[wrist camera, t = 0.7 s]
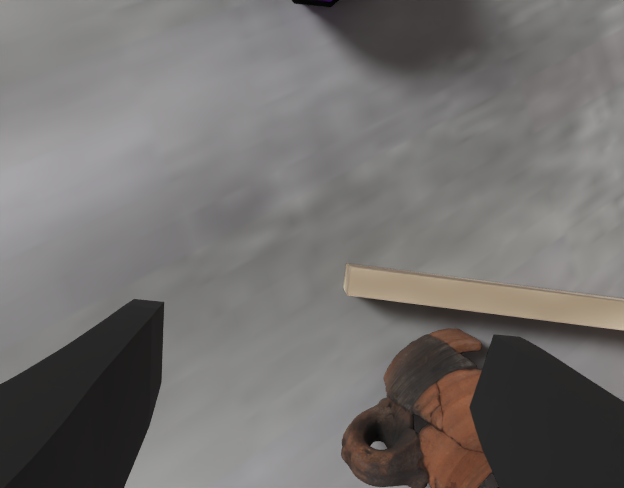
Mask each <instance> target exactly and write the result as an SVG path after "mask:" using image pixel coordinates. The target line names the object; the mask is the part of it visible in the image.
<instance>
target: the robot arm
mask: <svg viewBox="0 0 624 488" xmlns="http://www.w3.org/2000/svg"><path fill="white" fill-rule="evenodd" d="M163 319H164V302H158V301H148V300H138V299H134V300H132V301H130V302H129V303H127V304H126V305H124V306H123V307H122V308H120V309H119V310H117V311H116V312H115V313H113V314H112V315H110V316H109V317H108V318H106V319H105V320H103V321H102V322H100V323H99V324H98V325H96V326H95V327H93V328H92V329H90V330H89V331H87V332H86V333H84V334H83V335H81V336H80V337H78V338H77V339H75V340H74V341H72V342H71V343H70V344H68V345H66V346H65V347H63V348H62V349H60V350H58V351H57V352H55V353H53V354H52V355H50V356H48V357H47V358H45V359H43V360H42V361H40V362H39V363H37V364H35V365H34V366H32V367H30V368H29V369H27V370H25V371H24V372H22V373H20V374H19V375H17V376H15V377H13V378H11V379H10V380H8V381H6V382H4V383H2V384H0V488H124V486H125V484H126V481H127V479H128V477H129V474H130V472H131V469H132V467H133V465H134V462H135V460H136V457H137V455H138V452H139V450H140V448H141V445H142V443H143V440H144V438H145V435H146V433H147V430H148V428H149V425H150V422H151V418H152V415H153V411H154V408H155V404H156V400H157V397H158V393H159V389H160V386H161V378H162V349H163ZM469 408H470V412H471V415H472V419H473V422H474V426H475V429H476V432H477V435H478V438H479V441H480V444H481V447H482V450H483V452H484V455H485V457H486V459H487V461H488V464H489V466H490V468H491V470H492V472H493V474H494V477H495V479H496V481H497V483H498V485H499V487H500V488H624V402H623V401H622V400H620V399H619V398H617V397H615V396H614V395H612V394H611V393H609V392H608V391H606V390H605V389H603V388H601V387H600V386H598V385H597V384H595V383H594V382H592V381H591V380H589V379H588V378H586V377H585V376H583V375H581V374H580V373H578V372H577V371H575V370H574V369H572V368H571V367H569V366H568V365H566V364H565V363H563V362H562V361H560V360H558V359H557V358H555V357H554V356H552V355H551V354H549V353H547V352H546V351H544V350H543V349H541V348H539V347H538V346H536V345H534V344H532V343H531V342H529V341H527V340H525V339H523V338H521V337H515V336H505V335H493V338H492V341H491V344H490V347H489V350H488V353H487V356H486V359H485V362H484V365H483V368H482V371H481V374H480V377H479V380H478V383H477V386H476V389H475V392H474V395H473V398H472V401H471V404H470V407H469Z"/></svg>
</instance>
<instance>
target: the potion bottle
mask: <svg viewBox="0 0 624 488" xmlns="http://www.w3.org/2000/svg"><path fill="white" fill-rule="evenodd" d="M292 1H293V2H294V3H298V4H307V5H316V6H325V7H331V6H333V5H334V4H335V3H336V2H337V1H339V0H292Z"/></svg>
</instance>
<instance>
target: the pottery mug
mask: <svg viewBox="0 0 624 488" xmlns="http://www.w3.org/2000/svg"><path fill="white" fill-rule="evenodd" d="M481 347H482V344H481V342H480V341H479V340H477V339H476V338H474V337H472V336H470V335H468V334H466V333H464V332H463V331H461V330H459V329H445V330H439V331H436V332H433V333H430V334H427V335H424V336H423V337H421V338H419V339H417V340H415V341H413V342H411V343H410V344H409V345H408V346H407V347H406V348H404V349H403V350H401V351H400V352H399V354H398V355H396V356H395V358H394V359H393V361H392V363H391V364H390V366H389V367H388V369H387V371H386V373H385V375H384V382H385V385H386V392H387V398H384V399H382V400H381V401H380V402H379V403H378V404H377V405H376V406H374V407H372V408H370V409H368V410H366V411H364V412H362V413H361V414H359V415H358V416H357V417H356V418H355V419H354V420H353V421H352V423H351V424H350V425H349V426H348V428H347V429H346V431H345V433H344V435H343V439H342V452H341V456H342V458H343V460H344V461H345V462H346V463H347V464H348V466H349V467H350V469H351V470H352V472H353V473H354V475H355V476H356V477H357V478H358V479H360V480H361V481H363V482H364V483H367V484H369V485H372V486H377V487H388V486H401V485H408V486H409V487H411V488H425V487H426V486H427V483H429V484H430V486H431V488H478V487H479V486H480V485H481V483H482V482H483V481H484V480H485V479H486V478H487V477H488V475H489V474H490V473H492V470H491V468H490V466H489V464H488V461H487V459H486V457H485V455H484V452H483V450H482V447H481V444H480V441H479V438H478V435H477V432H476V429H475V426H474V422H473V419H472V415H471V412H470V408H469V407H470V404H471V401H472V398H473V395H474V392H475V389H476V386H477V383H478V380H479V377H480V374H481V371H482V370H478V369H477V366H476V365H475V364H474V363H472V362H471V361H470V360H469V359H467V358H465V357H463V356H462V355H461V354H460V353H462V352H467V351H479V350H481ZM413 415H418V416H419V417H421V418H422V419H423V420H424V421H426V422H427V423H428V424H427V425H426V426H424V427H423V428H422V429H421V430H420V432H419V434H417V433H416V431H415V430H414V417H413ZM375 441H381V442H384V444H385V445H386V447H387V449H385V450H377V449H374V448H372V447H370V446H371V444H372V443H373V442H375ZM498 488H500V487H498Z"/></svg>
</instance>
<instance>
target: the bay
mask: <svg viewBox="0 0 624 488" xmlns="http://www.w3.org/2000/svg"><path fill="white" fill-rule="evenodd" d="M343 289H344V290H345V292H346V294H347V295H348V296H356V297H364V298H372V299H380V300H388V301H396V302H404V303H411V304H419V305H427V306H435V307H443V308H451V309H459V310H467V311H474V312H482V313H490V314H498V315H506V316H514V317H522V318H529V319H537V320H545V321H553V322H561V323H569V324H577V325H585V326H592V327H600V328H608V329H616V330H624V299H623V298H615V297H608V296H600V295H592V294H584V293H576V292H568V291H560V290H553V289H545V288H537V287H529V286H521V285H513V284H505V283H498V282H490V281H482V280H474V279H466V278H458V277H450V276H443V275H435V274H427V273H419V272H411V271H403V270H396V269H388V268H380V267H372V266H364V265H356V264H348V263H346V271H345V278H344V286H343Z"/></svg>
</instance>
